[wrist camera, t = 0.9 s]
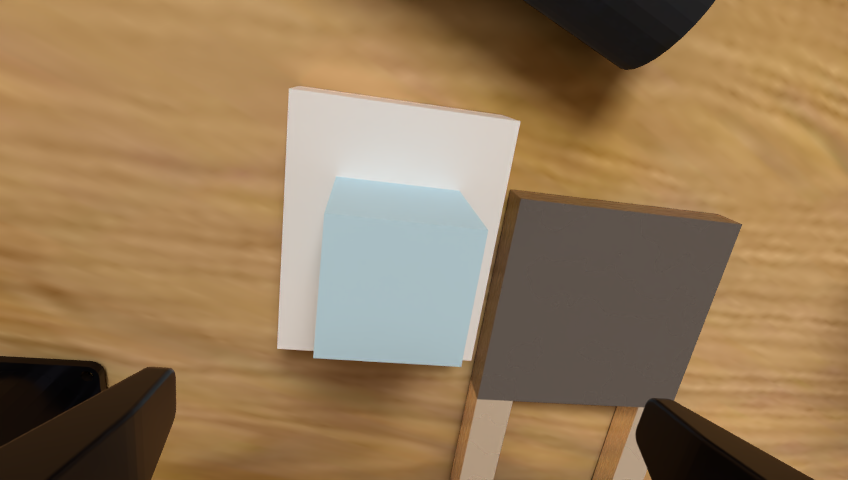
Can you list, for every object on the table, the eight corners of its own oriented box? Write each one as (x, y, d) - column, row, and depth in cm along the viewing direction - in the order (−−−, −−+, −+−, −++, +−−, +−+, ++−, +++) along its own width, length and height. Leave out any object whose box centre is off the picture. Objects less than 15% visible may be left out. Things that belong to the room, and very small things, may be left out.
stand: (287, 317, 21) (277, 348, 19) (299, 85, 18) (289, 88, 15) (460, 329, 22) (471, 360, 20) (502, 114, 19) (520, 121, 17)
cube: (326, 290, 18) (313, 357, 14) (336, 176, 16) (324, 213, 12) (440, 299, 19) (461, 366, 14) (459, 190, 17) (488, 230, 13)
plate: (439, 529, 27) (443, 555, 25) (510, 189, 20) (521, 198, 19) (601, 530, 28) (614, 554, 27) (717, 214, 21) (742, 224, 20)
